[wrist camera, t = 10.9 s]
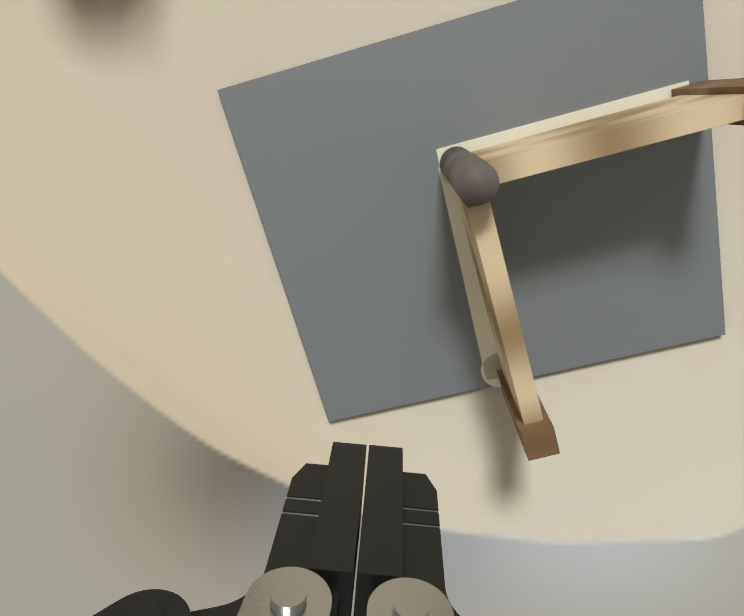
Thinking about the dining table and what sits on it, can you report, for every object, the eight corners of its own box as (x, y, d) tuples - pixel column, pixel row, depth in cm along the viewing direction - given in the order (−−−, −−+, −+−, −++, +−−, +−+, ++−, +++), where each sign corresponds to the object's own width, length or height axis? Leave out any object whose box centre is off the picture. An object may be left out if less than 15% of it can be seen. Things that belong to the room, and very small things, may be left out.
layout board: (694, -52, 28) (699, -55, 27) (721, 334, 35) (726, 337, 34) (219, 90, 31) (216, 90, 30) (330, 421, 38) (329, 425, 37)
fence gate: (448, 189, 32) (463, 213, 25) (476, 180, 31) (499, 202, 25) (502, 392, 36) (528, 460, 29) (527, 386, 36) (560, 453, 29)
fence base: (702, 78, 30) (814, 70, 22) (704, 114, 30) (815, 118, 22) (436, 151, 31) (451, 168, 23) (443, 183, 32) (460, 210, 24)
